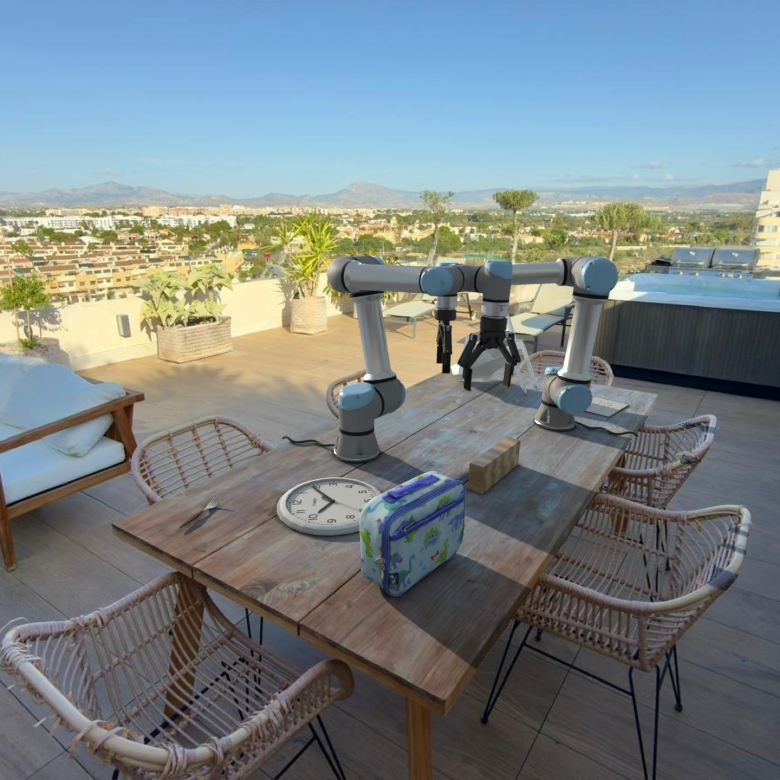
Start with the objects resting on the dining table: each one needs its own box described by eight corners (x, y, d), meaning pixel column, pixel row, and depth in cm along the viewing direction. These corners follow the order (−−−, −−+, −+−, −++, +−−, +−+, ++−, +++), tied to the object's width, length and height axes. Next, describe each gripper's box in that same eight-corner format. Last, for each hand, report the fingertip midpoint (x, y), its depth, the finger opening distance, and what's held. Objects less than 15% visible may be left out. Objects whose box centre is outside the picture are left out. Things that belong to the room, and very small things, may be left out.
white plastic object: (472, 423, 260) (450, 400, 235) (454, 348, 282) (432, 320, 258) (544, 398, 248) (529, 371, 223) (519, 323, 270) (503, 291, 245)
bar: (505, 460, 172) (507, 436, 170) (518, 464, 170) (520, 440, 167) (467, 489, 153) (469, 462, 150) (482, 494, 150) (484, 467, 148)
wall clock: (392, 527, 129) (268, 531, 127) (391, 533, 130) (269, 537, 127) (383, 473, 158) (282, 475, 155) (383, 478, 158) (282, 480, 156)
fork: (174, 529, 130) (174, 521, 130) (216, 499, 144) (215, 492, 144) (183, 531, 129) (182, 524, 129) (223, 501, 144) (223, 494, 143)
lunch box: (388, 609, 104) (390, 516, 98) (353, 583, 111) (352, 496, 105) (468, 555, 122) (474, 474, 115) (433, 536, 129) (437, 458, 123)
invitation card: (608, 416, 214) (573, 407, 224) (608, 416, 214) (573, 408, 224) (628, 404, 229) (594, 396, 238) (628, 405, 229) (594, 397, 238)
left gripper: (462, 320, 140) (456, 395, 146) (538, 317, 149) (529, 387, 156) (448, 315, 146) (443, 387, 153) (522, 312, 156) (514, 380, 162)
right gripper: (430, 303, 191) (428, 359, 197) (440, 313, 167) (437, 377, 173) (450, 303, 191) (447, 359, 197) (463, 314, 167) (459, 377, 174)
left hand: (487, 387), depth 154 cm, fingers open, 13 cm apart
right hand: (442, 368), depth 185 cm, fingers open, 13 cm apart
